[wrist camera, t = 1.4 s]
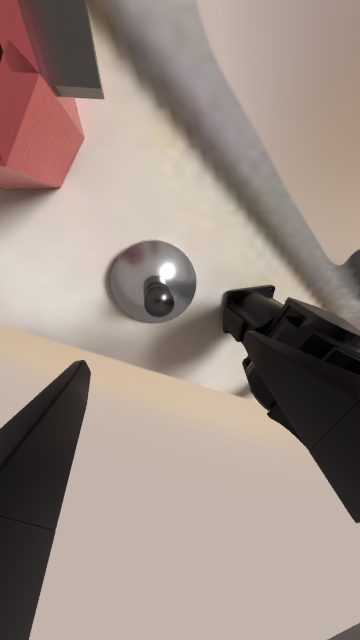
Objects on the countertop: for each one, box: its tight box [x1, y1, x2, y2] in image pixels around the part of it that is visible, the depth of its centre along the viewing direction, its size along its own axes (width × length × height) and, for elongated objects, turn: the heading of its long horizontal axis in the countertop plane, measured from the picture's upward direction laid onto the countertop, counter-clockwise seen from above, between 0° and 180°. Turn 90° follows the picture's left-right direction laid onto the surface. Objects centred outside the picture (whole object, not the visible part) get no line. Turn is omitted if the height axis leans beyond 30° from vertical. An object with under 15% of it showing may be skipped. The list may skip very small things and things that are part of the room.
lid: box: [110, 240, 196, 323], centre depth 16 cm, size 9×9×5 cm
